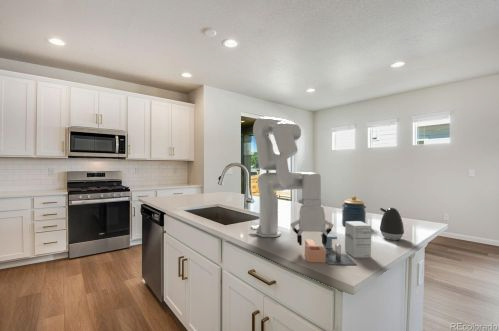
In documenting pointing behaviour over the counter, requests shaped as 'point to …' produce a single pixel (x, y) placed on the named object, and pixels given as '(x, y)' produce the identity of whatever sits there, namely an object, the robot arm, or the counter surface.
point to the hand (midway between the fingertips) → (312, 244)
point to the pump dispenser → (391, 224)
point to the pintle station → (339, 258)
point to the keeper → (329, 240)
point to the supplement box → (358, 239)
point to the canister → (353, 210)
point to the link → (314, 252)
